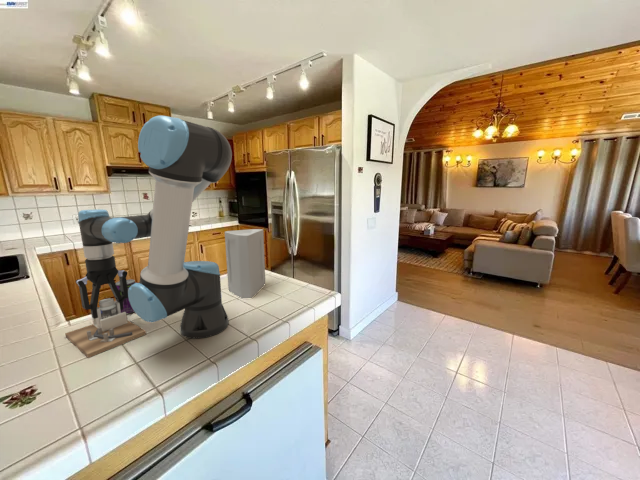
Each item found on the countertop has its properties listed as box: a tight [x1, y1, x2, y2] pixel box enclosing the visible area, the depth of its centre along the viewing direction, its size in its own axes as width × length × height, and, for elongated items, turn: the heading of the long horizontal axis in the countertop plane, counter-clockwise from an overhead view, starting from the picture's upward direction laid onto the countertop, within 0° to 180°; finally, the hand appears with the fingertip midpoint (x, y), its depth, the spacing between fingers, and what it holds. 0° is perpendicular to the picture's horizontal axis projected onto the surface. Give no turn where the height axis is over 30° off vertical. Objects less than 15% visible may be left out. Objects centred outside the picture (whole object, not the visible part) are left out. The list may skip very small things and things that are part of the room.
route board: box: [64, 319, 147, 359], centre depth 86 cm, size 20×15×4 cm
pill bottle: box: [98, 297, 117, 319], centre depth 90 cm, size 5×5×8 cm
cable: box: [93, 329, 132, 339], centre depth 83 cm, size 13×4×1 cm, turn 81°
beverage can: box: [115, 278, 136, 315], centre depth 102 cm, size 7×7×12 cm
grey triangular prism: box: [224, 228, 266, 299], centre depth 123 cm, size 19×15×28 cm
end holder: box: [91, 312, 128, 332], centre depth 91 cm, size 8×7×4 cm
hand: (109, 322), depth 91 cm, fingers closed on pill bottle, 5 cm apart
